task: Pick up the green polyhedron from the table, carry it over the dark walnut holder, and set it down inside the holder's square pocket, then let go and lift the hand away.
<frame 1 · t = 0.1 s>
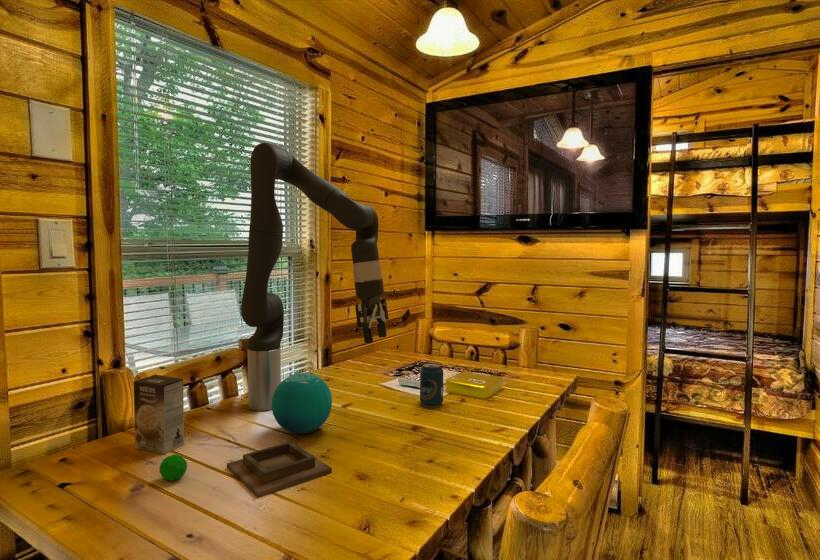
hand: (376, 339, 129), 22 cm above the table, tool pointing down, fingers open, 8 cm apart
coffee box: (160, 447, 114), on the table
walnut holder: (278, 470, 102), on the table
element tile: (473, 391, 161), on the table
polyhedron: (173, 479, 98), on the table
decorative orb: (302, 432, 124), on the table
soda can: (431, 405, 146), on the table
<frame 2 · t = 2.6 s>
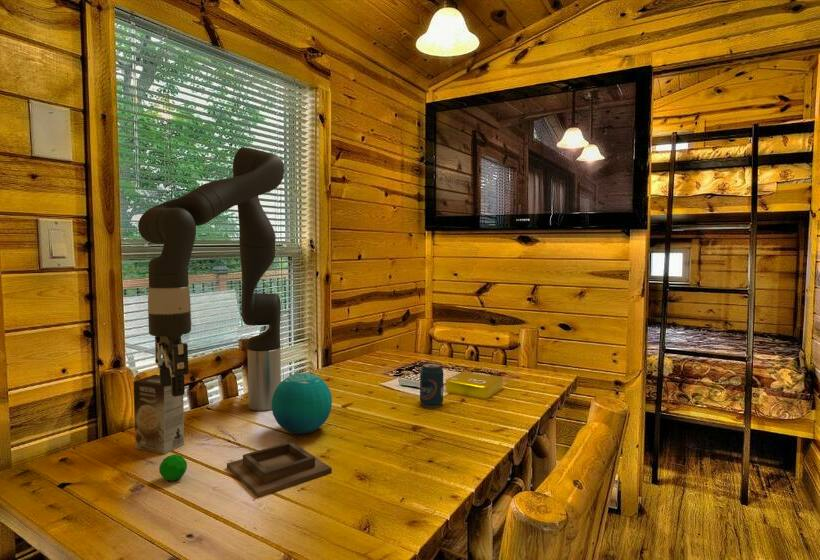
hand: (171, 390, 97), 18 cm above the table, tool pointing down, fingers open, 8 cm apart
nothing on the table moved.
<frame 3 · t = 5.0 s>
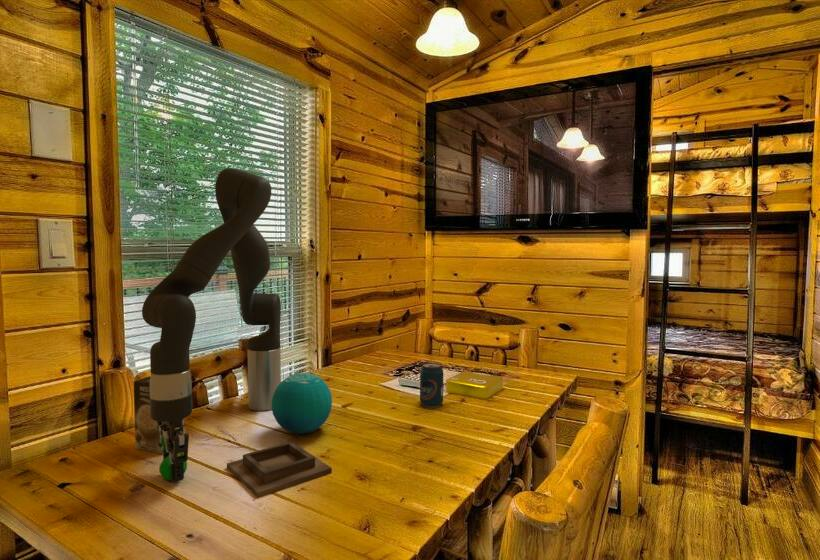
hand: (173, 475, 98), 1 cm above the table, tool pointing down, fingers closed on polyhedron, 5 cm apart
polyhedron: (173, 479, 98), on the table, touching gripper
everything else where it was.
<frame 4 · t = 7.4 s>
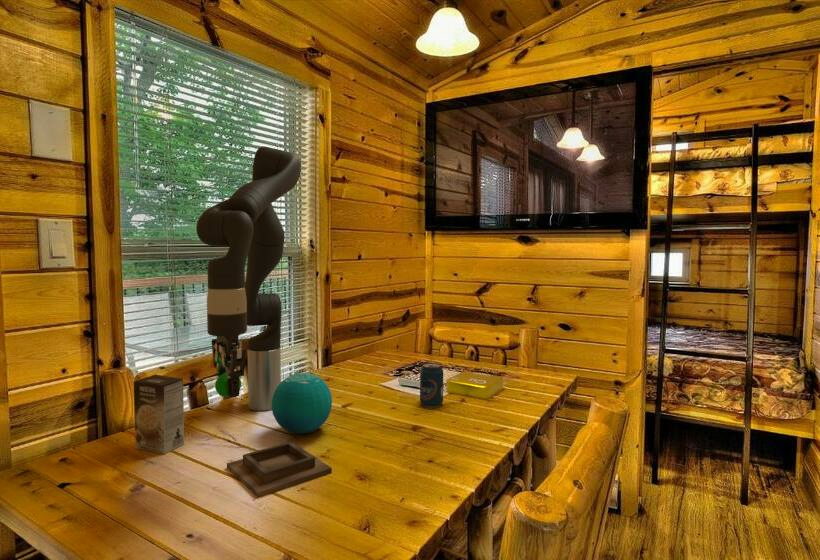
hand: (228, 392, 99), 17 cm above the table, tool pointing down, fingers closed on polyhedron, 5 cm apart
polyhedron: (228, 397, 99), point 16 cm above the table, touching gripper
everything else where it was.
when the fingers open (3 cm above the table, at t = 10.4 s): polyhedron drops 1 cm, resting on walnut holder.
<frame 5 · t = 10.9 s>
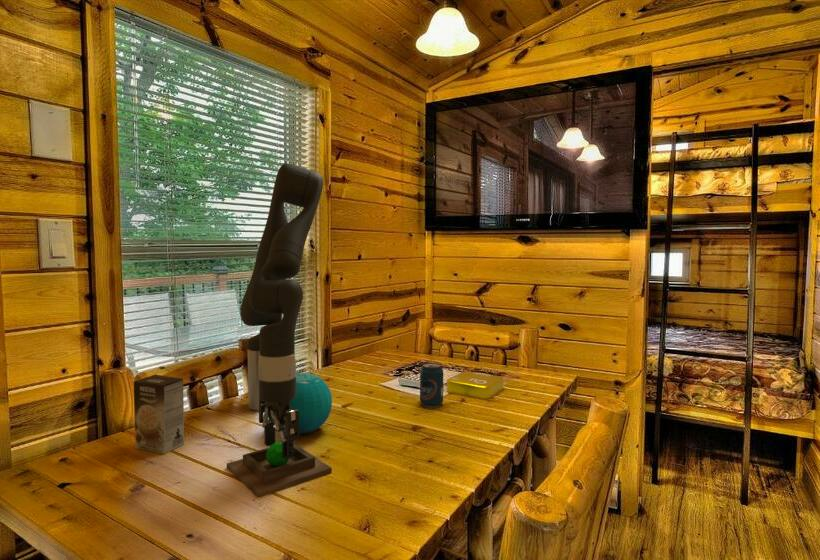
hand: (278, 451, 102), 4 cm above the table, tool pointing down, fingers open, 8 cm apart
polyhedron: (278, 466, 102), point 1 cm above the table, touching walnut holder
everything else where it was.
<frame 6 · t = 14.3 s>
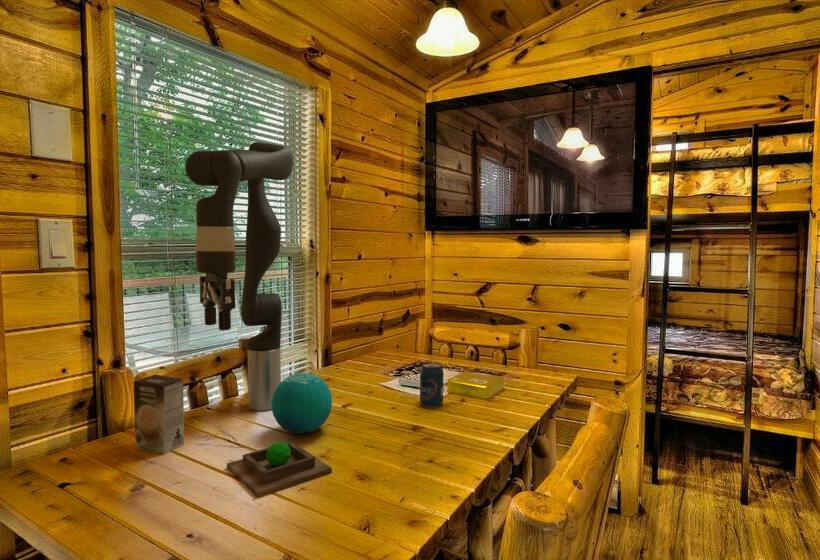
hand: (217, 327, 101), 30 cm above the table, tool pointing down, fingers open, 8 cm apart
nothing on the table moved.
at the end: polyhedron inside the target area on the walnut holder (0.1 cm from its centre), point 0.8 cm above the walnut holder's base; polyhedron touching walnut holder; the gripper is holding nothing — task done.
